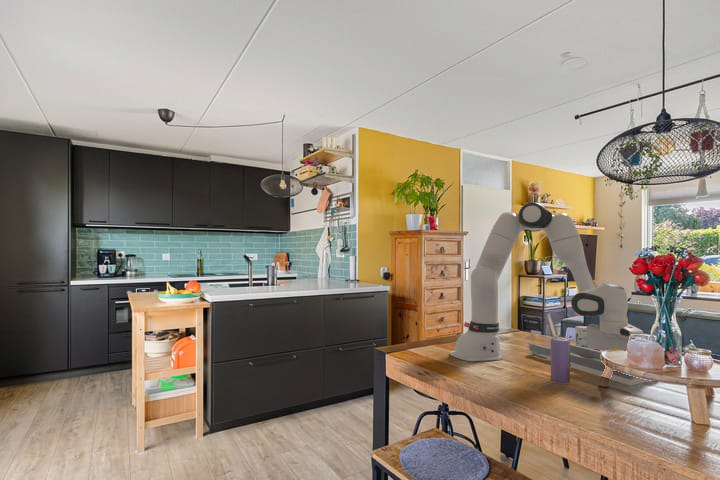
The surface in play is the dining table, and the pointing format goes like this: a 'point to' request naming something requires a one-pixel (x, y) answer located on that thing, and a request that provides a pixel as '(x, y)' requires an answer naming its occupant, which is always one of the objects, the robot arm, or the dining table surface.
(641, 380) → the trap track
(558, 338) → the beverage can
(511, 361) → the dining table surface
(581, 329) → the ink box
